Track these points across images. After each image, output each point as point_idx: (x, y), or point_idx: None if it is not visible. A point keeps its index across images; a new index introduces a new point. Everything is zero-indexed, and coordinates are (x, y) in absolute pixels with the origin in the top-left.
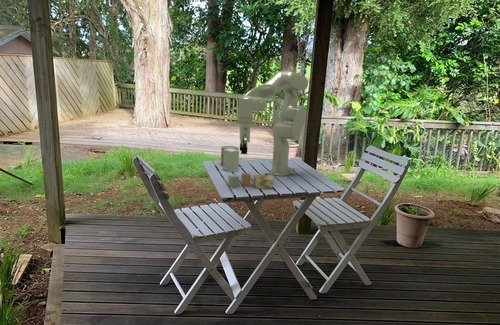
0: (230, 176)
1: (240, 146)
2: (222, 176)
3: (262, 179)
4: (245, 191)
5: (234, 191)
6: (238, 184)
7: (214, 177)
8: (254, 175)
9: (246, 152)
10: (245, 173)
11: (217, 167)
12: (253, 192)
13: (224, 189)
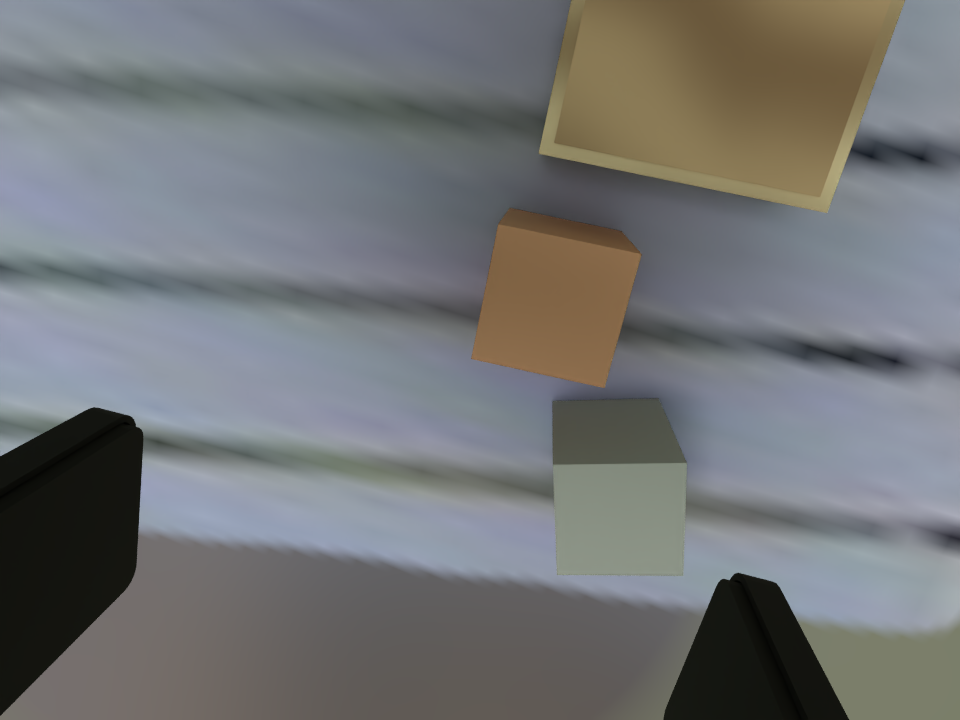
0: (650, 575)
1: (32, 680)
2: (160, 443)
3: (861, 91)
4: (849, 373)
5: (806, 493)
6: (664, 418)
7: (206, 537)
8: (561, 150)
9: (782, 632)
10: (515, 307)
11: None
12: (928, 287)
13: (698, 569)
